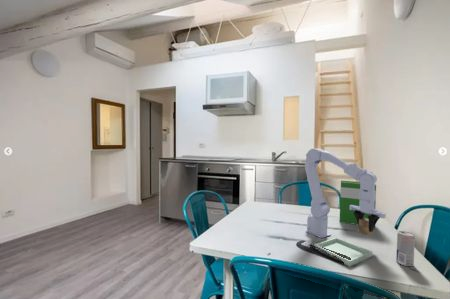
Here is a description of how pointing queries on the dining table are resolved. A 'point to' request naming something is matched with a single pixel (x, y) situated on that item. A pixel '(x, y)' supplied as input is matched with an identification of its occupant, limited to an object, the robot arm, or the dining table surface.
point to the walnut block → (364, 226)
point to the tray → (345, 251)
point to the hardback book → (350, 201)
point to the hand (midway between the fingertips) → (365, 229)
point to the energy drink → (405, 248)
